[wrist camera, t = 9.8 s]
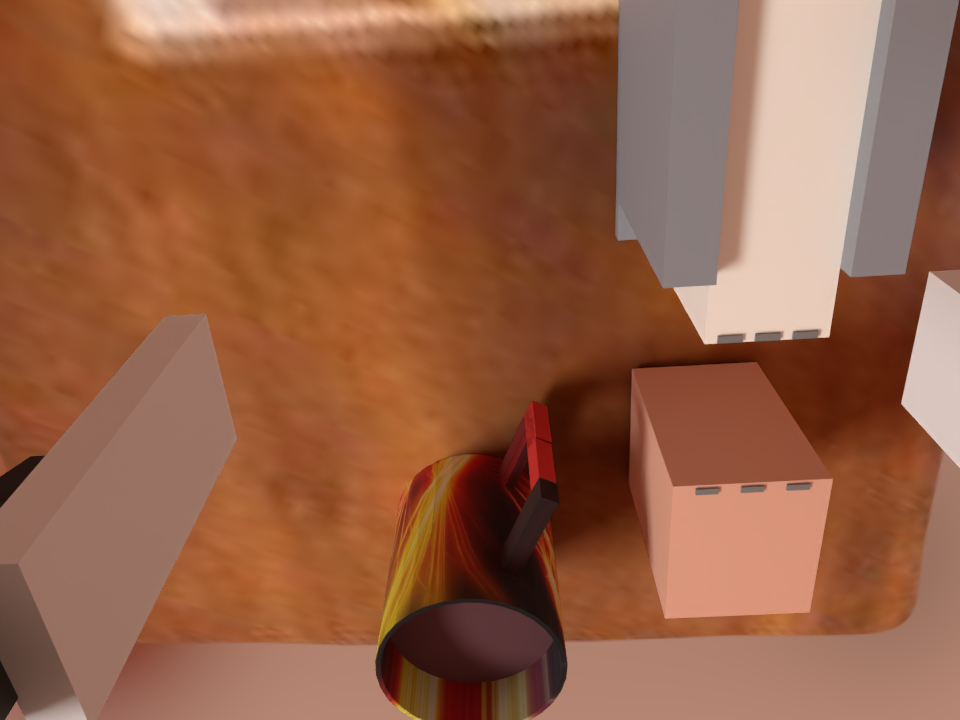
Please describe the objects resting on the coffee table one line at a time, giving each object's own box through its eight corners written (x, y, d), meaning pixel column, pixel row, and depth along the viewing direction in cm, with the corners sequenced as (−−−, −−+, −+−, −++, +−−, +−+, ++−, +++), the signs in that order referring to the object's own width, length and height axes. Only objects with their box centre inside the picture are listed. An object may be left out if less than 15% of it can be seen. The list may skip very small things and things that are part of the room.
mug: (545, 389, 46) (564, 523, 35) (552, 570, 52) (570, 729, 42) (380, 399, 46) (349, 535, 36) (407, 577, 53) (388, 737, 42)
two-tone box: (620, -81, 35) (680, -92, 24) (827, -96, 34) (982, -115, 24) (615, 253, 42) (659, 358, 31) (786, 243, 42) (890, 345, 31)
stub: (632, 368, 45) (673, 488, 35) (756, 361, 44) (834, 480, 35) (628, 483, 48) (665, 620, 39) (743, 477, 48) (810, 614, 38)
